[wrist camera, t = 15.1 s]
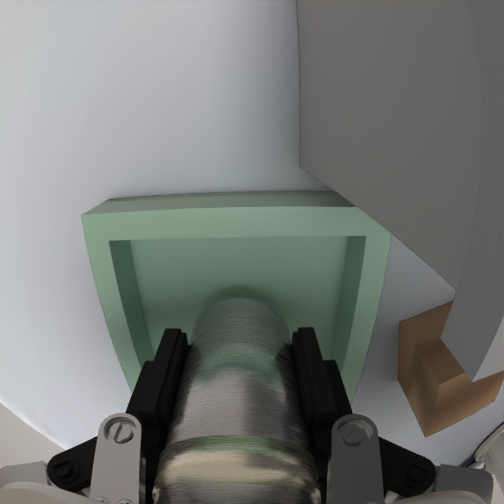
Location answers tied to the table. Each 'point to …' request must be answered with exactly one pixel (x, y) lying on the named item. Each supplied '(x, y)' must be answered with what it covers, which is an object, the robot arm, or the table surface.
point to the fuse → (238, 415)
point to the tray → (238, 267)
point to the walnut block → (438, 374)
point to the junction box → (417, 141)
